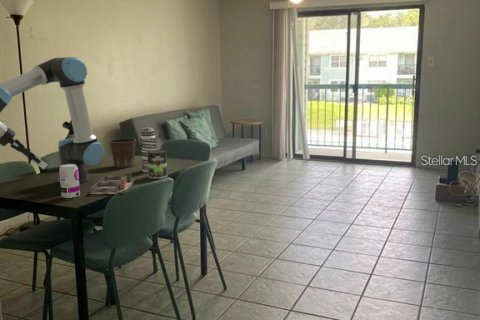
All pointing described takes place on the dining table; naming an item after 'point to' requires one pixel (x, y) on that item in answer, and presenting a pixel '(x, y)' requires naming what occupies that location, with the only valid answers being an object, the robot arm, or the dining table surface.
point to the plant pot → (123, 152)
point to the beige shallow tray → (112, 184)
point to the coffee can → (157, 164)
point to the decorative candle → (147, 145)
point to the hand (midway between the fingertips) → (43, 164)
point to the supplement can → (69, 181)
